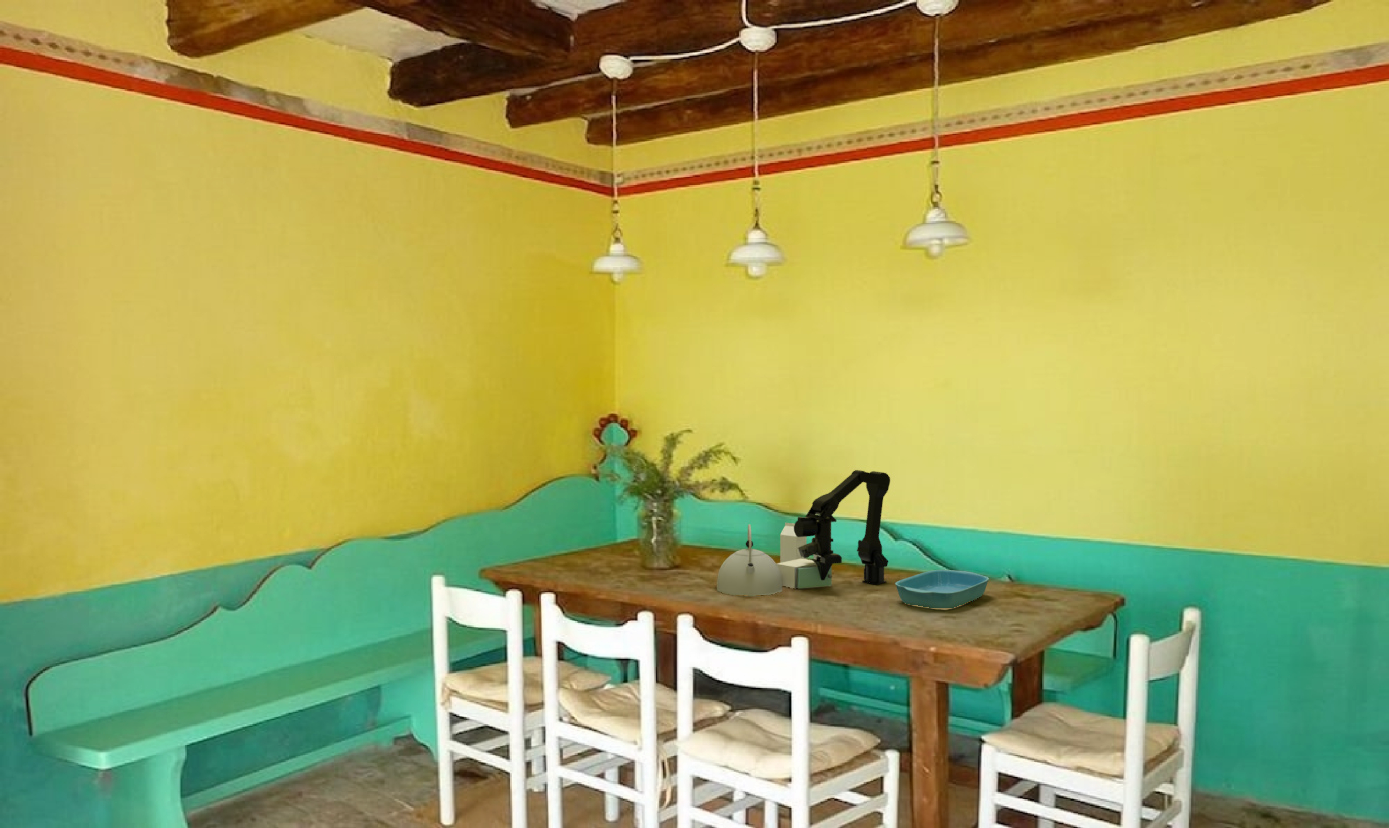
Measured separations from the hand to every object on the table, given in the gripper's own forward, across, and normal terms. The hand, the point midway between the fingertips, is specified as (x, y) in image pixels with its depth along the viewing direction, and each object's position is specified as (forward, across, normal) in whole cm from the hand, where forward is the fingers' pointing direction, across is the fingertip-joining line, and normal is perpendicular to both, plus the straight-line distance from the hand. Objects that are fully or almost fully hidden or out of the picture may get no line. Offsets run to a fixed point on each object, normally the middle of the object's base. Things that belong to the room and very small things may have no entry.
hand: (822, 580), depth 344 cm
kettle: (+4, -7, -24) cm, 26 cm away
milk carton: (+3, -27, 0) cm, 28 cm away
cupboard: (+3, -11, -4) cm, 12 cm away
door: (+3, -2, -2) cm, 4 cm away
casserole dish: (+4, +26, +31) cm, 41 cm away
